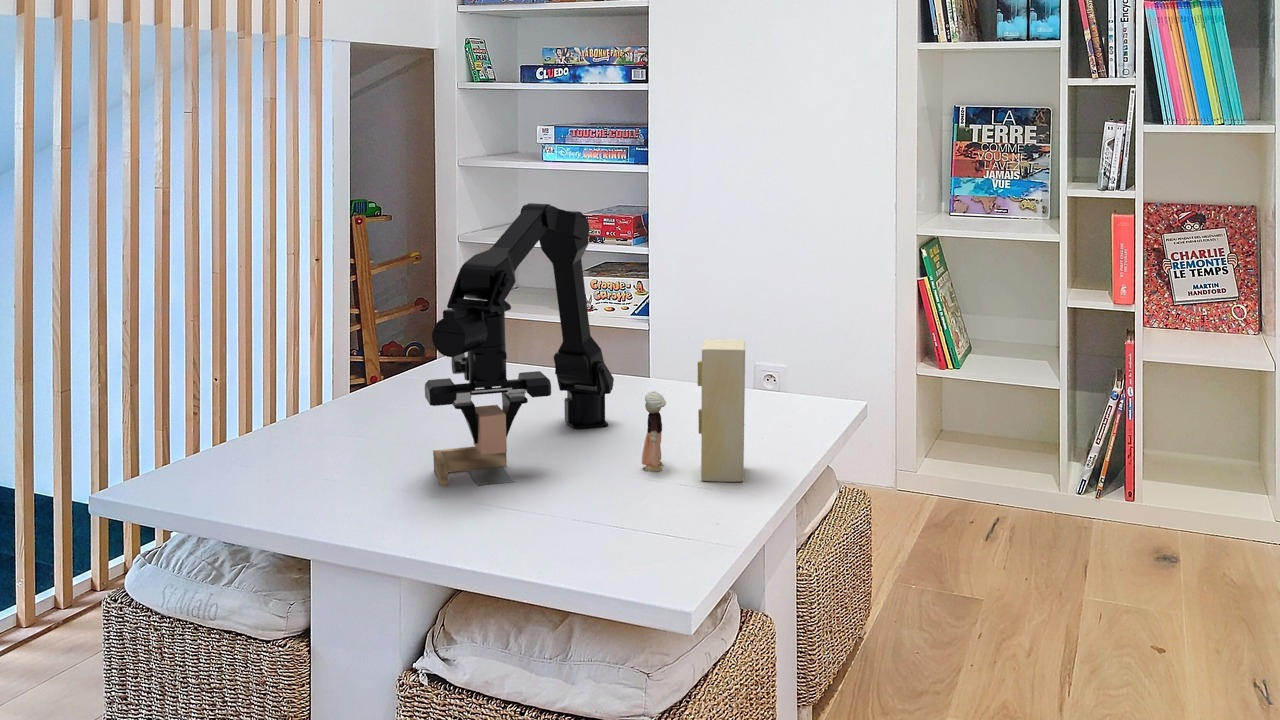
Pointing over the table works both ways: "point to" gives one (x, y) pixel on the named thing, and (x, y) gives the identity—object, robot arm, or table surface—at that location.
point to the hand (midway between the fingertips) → (489, 441)
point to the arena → (471, 465)
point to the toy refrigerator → (722, 409)
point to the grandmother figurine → (653, 432)
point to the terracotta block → (491, 430)
